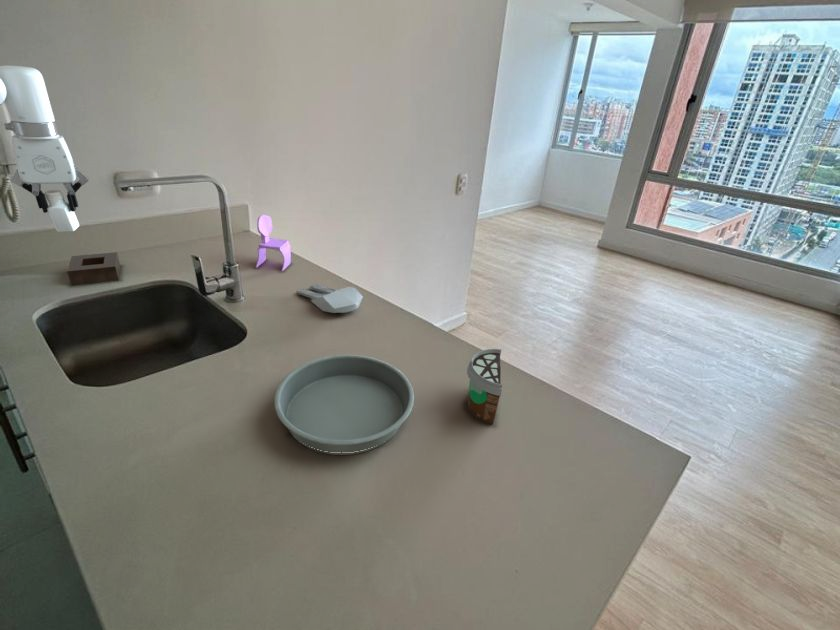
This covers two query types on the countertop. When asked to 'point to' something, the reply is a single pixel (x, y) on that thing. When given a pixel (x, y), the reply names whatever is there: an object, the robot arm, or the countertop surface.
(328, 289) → the turret
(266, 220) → the toy chair
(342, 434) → the cake pan
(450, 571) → the countertop surface
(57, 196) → the pepper shaker
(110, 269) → the holder
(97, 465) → the countertop surface
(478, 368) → the food container
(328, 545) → the countertop surface
